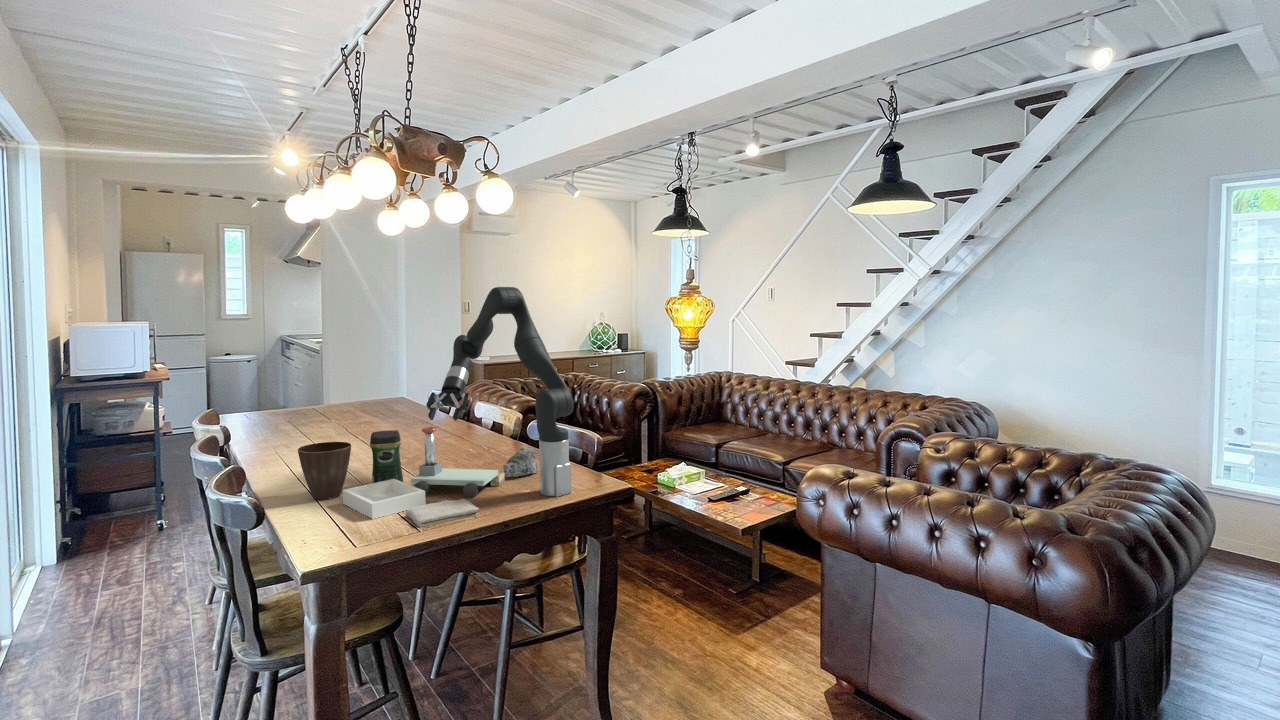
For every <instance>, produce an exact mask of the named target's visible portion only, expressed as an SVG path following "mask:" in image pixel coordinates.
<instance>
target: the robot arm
mask: <svg viewBox="0 0 1280 720" xmlns="http://www.w3.org/2000/svg"><path fill="white" fill-rule="evenodd" d="M497 315H512V316H513V318H514V321H515V323H516V332H515V335H514V340H513V341H514V342H513V344H514V345H513V347H514V351H515V352H516V355H517V356H518V358H519V361H520V362H521V364H522V365H523V366H524V368H526V369H527V370H528V371H529V372H530V373H531V374H533V375H534V376H535V377H536V378H538V380H540V381H541V382H542V383H543V384H544V386H545V387H546V389H542V390H540V391H539V392H537V394H536V397H535V402H534V403H535V406H534V407H535V417H536V418H535V419H536V428H537V434H538V440H539V441H538V446H539V451H538V453H539V487H540V488H539V490H540V491H539V493H540V494H541V495H542V496H545V497H555V498H557V497H558V498H559V497H561V496H564V495H568V494H572V464H571V463H570V456H569V455H570V454H569V452H570V451H569V447H570V446H569V445H570V443H569V430H568V429H567V428H564V427H561V426H558V425H557V422H556V419H557V418H564V417H568V416H570V415H571V414H572V413H573V412H574V408H575V407H574V406H575V403H574V398H573V395H572V393H571V391H570V390H569V389H570V388H568V386H567V385H566V383H565V381H564V380H563V378H562V376H561V375H560V374H559V372H558V370H557V368H556V367H555V364H554V363H553V360H552V359H551V356H550V355H549V352H548V349H547V348H546V346H545V344H544V342H543V340H542V337H541V336H540V334H539V332H538V330H537V328H536V326H535V324H534V321H533V319H532V316H531V314H530V311H529V309H528V305H527V302H526V300H525V297H524V295H523V293H522V292H521V290H520V289H519V288H517V287H514V286H496V287H493V288H491V290H489V292H488V294H487V296H486V298H485V300H484V303H483V305H482V307H481V310H480V312H479V314H478V316H477V318H476V320H475V321H474V322H473V324H472V325H471V327H470V328H469V329H468V331H467V333H466V335H465V334H460V335H458V336H457V337H456V338H455V340H454V342H453V348H452V349H453V351H452V352H453V356H452V361H451V364H450V366H449V367H450V368H449V369H448V371H447V373H446V376H445V379H444V381H443V385H442V387H441V390H440V393H439V394H438V393H436V392H434V391H433V392H431V393H430V396H429V398H428V401H427V402H426V404H425V406H426V407H427V409H428V410H429V412H428V415H427V417H428V419H430V421H433V420H434V418H435V417H436V414H437V411H438V410H439V409H442V408H443V407H448V406H449V407H454V406H456V408H455V409H454V412H453V415H452V419H453V421H454V422H455V421H457V420H459V418H460V416H461V413H462V412H463V411H465V412H467V411H468V409H469V405H470V402H471V396H470V394H469V393H468V392H466V393H464V392H465V389H466V386H467V384H468V380H469V375H470V373H471V369H472V366H473V361H472V360H476V359H478V358H479V357H481V355H482V352H483V349H484V348H483V347H484V345H485V343H486V341H487V340H488V338H489V337H490V335H491V334H492V333H493V332H494V331H493V330H494V322H493V318H494V317H495V316H497ZM462 400H463V401H462ZM461 401H462V404H461V405H460V403H459V402H461Z"/></svg>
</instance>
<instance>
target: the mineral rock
mask: <svg viewBox="0 0 1280 720" xmlns="http://www.w3.org/2000/svg"><path fill="white" fill-rule="evenodd" d="M502 469H503V473H505V477H507V478H509V477H511V478H516V477H517V478H519V476H520V477H523V476H526V475H531V474H536V473H538V464H537V463H536V450H535V448H533V447H528V448H526V447H525V446H522V447H520V448H519V449H518V451H517V452H516V453H515V454H514V455H512V456H511V457H509V460H507V461H506V463H505V464H504V465H502Z"/></svg>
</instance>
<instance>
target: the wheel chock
mask: <svg viewBox="0 0 1280 720" xmlns="http://www.w3.org/2000/svg"><path fill="white" fill-rule="evenodd" d="M505 478H506V476H505V473H504V472H500V471H498V475H497V476H496V477H495V478H493V479H492V480H491V483H490V486H491V487H500V486H501V484H502V483H503V482H504V483H505V481H506V479H505ZM504 483H503V484H504ZM503 484H502V485H503Z"/></svg>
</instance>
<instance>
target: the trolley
mask: <svg viewBox="0 0 1280 720" xmlns="http://www.w3.org/2000/svg"><path fill="white" fill-rule="evenodd" d="M442 466H443V463H442V462H435V465H434V466H426V465H425V463H423V464H421V465H419V466H418V468H419V469H418V472H419V473H418V474H417V475H415V476H413V477H411V478H410V485H411V484H414V487H416V488H419V489H421V490H424V491H425V495H427V494H428V493H429V492H430V485H436V486H437V485H439V486H440V485H441V486H442V485H443V486H463V488H462V493H463V495H464V496H465V497H466V498H468V497H469V499H471V498H473V497H475V496H476V495H477V494H478V492H479V489H478V487H484V486H486V485H491V480H492V479H493V478H495V477H496V476H497V475H498V472H499V470H498V469H479V468H478V469H477V468H476V469H475V468H447V467H446V468H445V467H442Z"/></svg>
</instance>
